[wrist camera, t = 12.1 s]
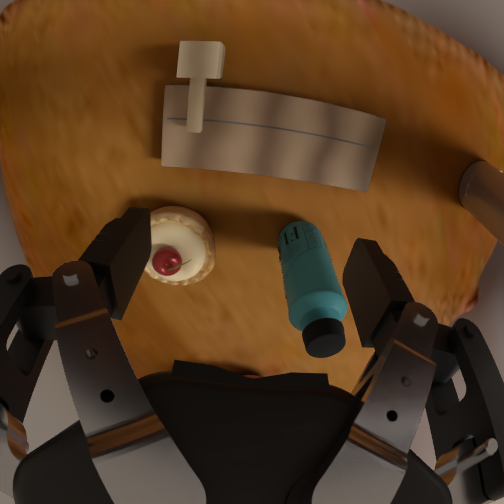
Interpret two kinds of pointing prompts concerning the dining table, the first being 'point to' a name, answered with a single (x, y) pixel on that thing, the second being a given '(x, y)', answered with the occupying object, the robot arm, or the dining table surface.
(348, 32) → the dining table surface
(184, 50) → the beige cube mallet
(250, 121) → the board
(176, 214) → the pastry
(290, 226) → the beverage bottle
